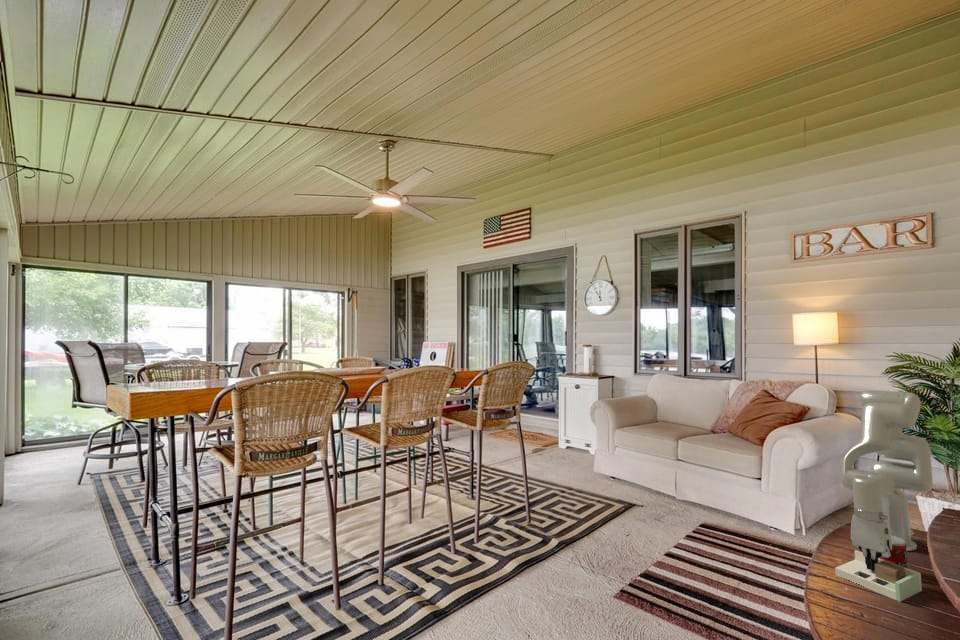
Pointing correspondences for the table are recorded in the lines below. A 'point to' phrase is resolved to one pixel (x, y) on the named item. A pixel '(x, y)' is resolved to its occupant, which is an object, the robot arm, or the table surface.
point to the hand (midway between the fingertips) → (872, 568)
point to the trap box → (866, 578)
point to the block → (889, 571)
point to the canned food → (897, 552)
